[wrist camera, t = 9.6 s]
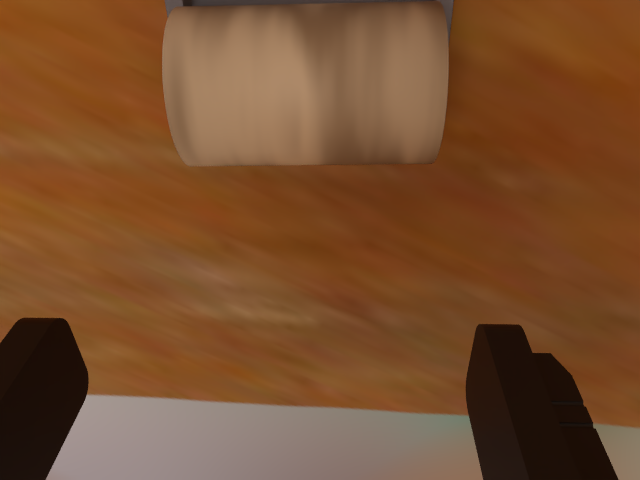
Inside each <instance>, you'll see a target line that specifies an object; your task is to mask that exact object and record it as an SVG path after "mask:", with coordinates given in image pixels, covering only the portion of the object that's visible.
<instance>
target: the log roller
mask: <svg viewBox="0 0 640 480" xmlns="http://www.w3.org/2000/svg"><path fill="white" fill-rule="evenodd" d="M448 74H449V50H448V32H447V23H446V16H445V12H444V8H443V5H442V4H441V2H440V1H416V2H369V3H323V4H276V5H230V6H183V7H175V8H173V10H172V11H171V12H170V14H169V16H168V19H167V22H166V27H165V32H164V39H163V51H162V75H163V90H164V99H165V106H166V112H167V118H168V123H169V127H170V131H171V135H172V138H173V141H174V144H175V147H176V149H177V152H178V154H179V156H180V157H181V159H182V160H183V162H184V163H185V164H186V165H188V166H262V165H358V164H432V163H434V161H435V160H436V158H437V155H438V152H439V149H440V145H441V141H442V136H443V130H444V124H445V116H446V107H447V95H448Z"/></svg>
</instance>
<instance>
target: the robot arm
mask: <svg viewBox="0 0 640 480" xmlns="http://www.w3.org/2000/svg"><path fill="white" fill-rule="evenodd" d="M87 391H88V371H87V368H86V366H85V363H84V361H83V358H82V356H81V353H80V351H79V348H78V346H77V343H76V341H75V338H74V336H73V333H72V331H71V328H70V326H69V324H68V322H67V321H66V320H65V319H63V318H22V319H20V320H18V321H17V322H16V323H15V324H14V326H13V327H12V328H11V330H10V331H9V332H8V334H7V335H6V336H5V338H4V339H3V340H2V342H1V343H0V480H46V477H47V476H48V474H49V471H50V469H51V467H52V465H53V463H54V461H55V459H56V457H57V455H58V453H59V451H60V449H61V447H62V445H63V443H64V441H65V439H66V437H67V435H68V433H69V431H70V429H71V427H72V425H73V423H74V421H75V419H76V417H77V415H78V413H79V411H80V409H81V407H82V405H83V403H84V401H85V398H86V395H87ZM466 402H467V409H468V414H469V418H470V422H471V427H472V431H473V436H474V440H475V445H476V449H477V453H478V458H479V462H480V466H481V471H482V476H483V480H618V478H617V475H616V473H615V471H614V469H613V466H612V464H611V462H610V460H609V457H608V456H607V453H606V451H605V449H604V446H603V444H602V442H601V440H600V438H599V435H598V433H597V431H596V429H594V428H593V422H592V419H591V417H590V415H589V413H588V411H587V408H586V407H584V405H583V399H582V397H581V395H580V393H579V390H578V388H577V386H576V384H575V381H574V379H573V377H572V375H571V374H570V373H569V372H568V371H567V370H566V369H565V368H564V367H563V366H562V365H561V364H560V363H559V362H558V361H557V360H556V359H555V358H554V356H553V355H552V354H551V353H532V351H531V348H530V345H529V343H528V340H527V338H526V335H525V332H524V330H523V328H522V327H521V326H520V325H508V324H479V325H478V326H477V328H476V332H475V337H474V342H473V347H472V352H471V357H470V362H469V367H468V372H467V378H466Z"/></svg>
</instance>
